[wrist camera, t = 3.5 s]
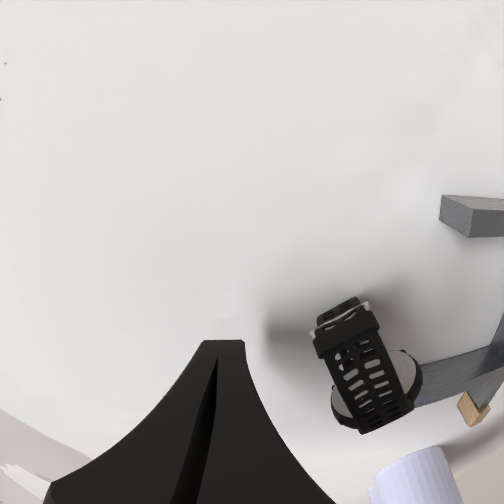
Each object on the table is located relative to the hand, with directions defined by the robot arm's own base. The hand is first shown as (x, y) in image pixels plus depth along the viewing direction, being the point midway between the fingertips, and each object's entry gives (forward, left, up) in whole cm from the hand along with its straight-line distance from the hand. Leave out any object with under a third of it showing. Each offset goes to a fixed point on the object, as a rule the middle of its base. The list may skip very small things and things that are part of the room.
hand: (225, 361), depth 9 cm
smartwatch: (0, -5, -2) cm, 5 cm away
